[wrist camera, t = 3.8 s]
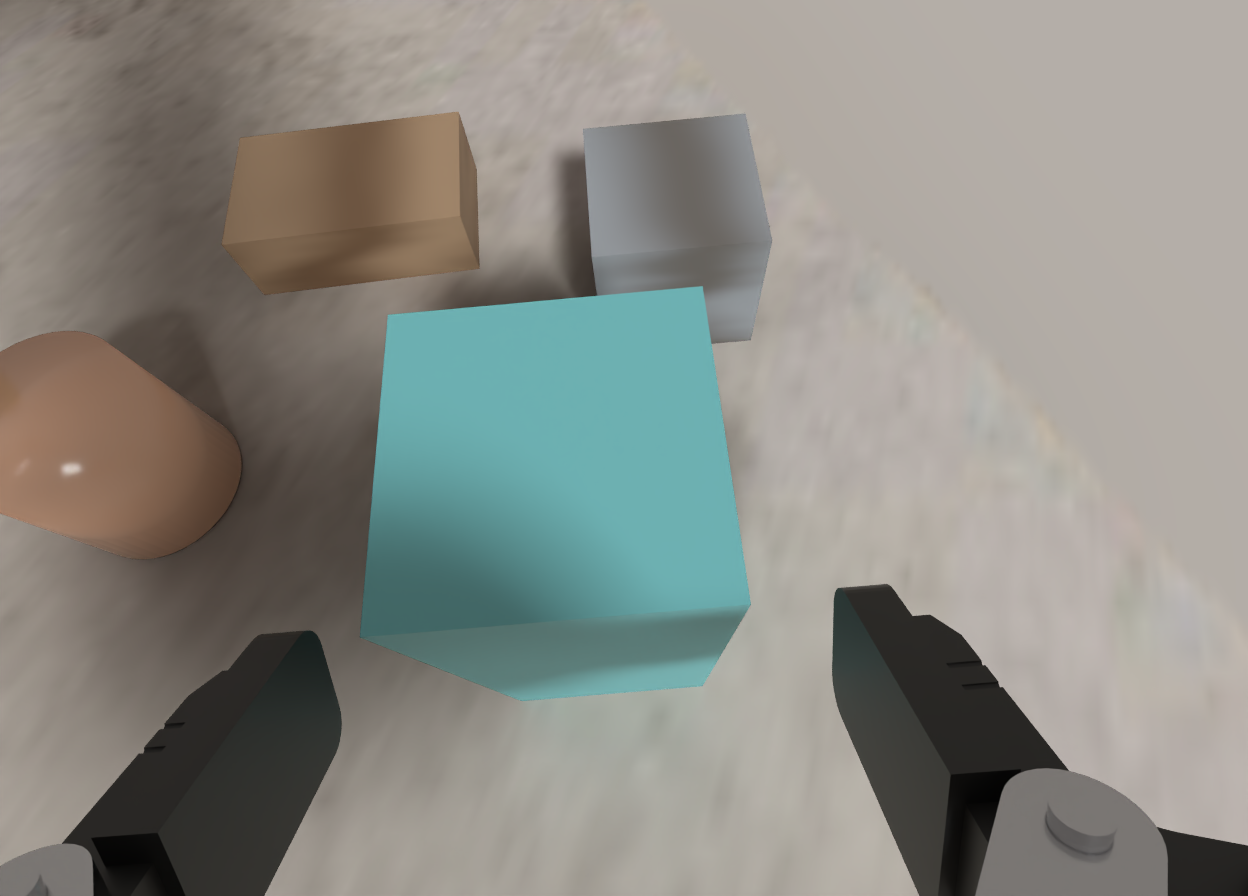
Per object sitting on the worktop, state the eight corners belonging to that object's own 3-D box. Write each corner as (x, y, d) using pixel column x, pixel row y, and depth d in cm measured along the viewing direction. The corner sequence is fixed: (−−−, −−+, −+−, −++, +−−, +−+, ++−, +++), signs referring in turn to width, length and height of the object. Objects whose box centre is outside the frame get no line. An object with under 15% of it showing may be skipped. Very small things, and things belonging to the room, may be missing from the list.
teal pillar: (521, 700, 19) (360, 637, 9) (519, 527, 21) (388, 314, 11) (702, 686, 19) (750, 605, 9) (682, 513, 21) (702, 286, 11)
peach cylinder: (73, 570, 21) (-96, 518, 16) (105, 427, 23) (-37, 346, 18) (231, 546, 21) (105, 488, 16) (249, 405, 23) (142, 318, 18)
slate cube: (605, 354, 23) (591, 257, 19) (597, 241, 25) (583, 129, 21) (750, 341, 23) (771, 240, 19) (730, 229, 25) (745, 113, 21)
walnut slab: (268, 299, 25) (221, 244, 22) (281, 199, 27) (239, 137, 25) (481, 274, 25) (460, 215, 23) (478, 175, 27) (458, 111, 25)
